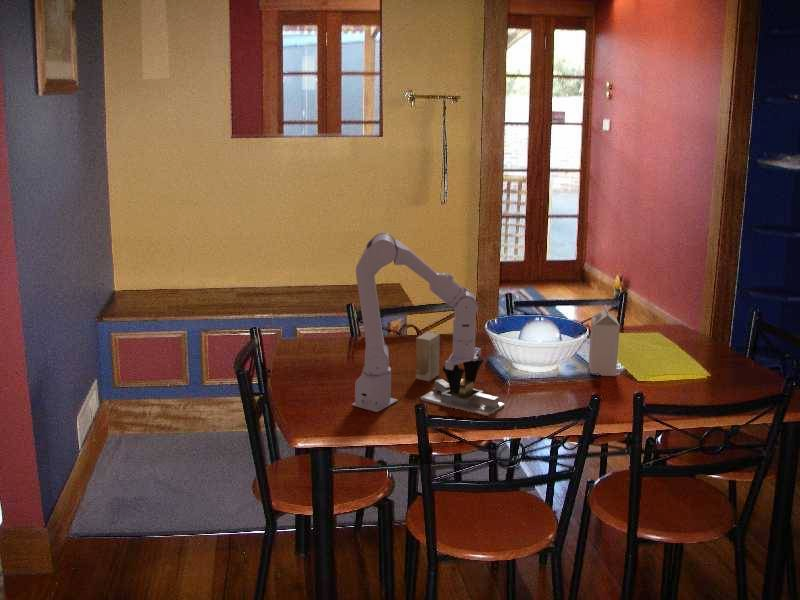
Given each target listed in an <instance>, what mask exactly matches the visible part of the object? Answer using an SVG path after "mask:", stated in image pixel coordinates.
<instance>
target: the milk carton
mask: <svg viewBox="0 0 800 600" xmlns="http://www.w3.org/2000/svg"><path fill="white" fill-rule="evenodd" d="M590 323H591V324H590V338H589V339H590V340H589V351H588V353H589V354H588V365H589V368H590V371H591V372H598V373H599V374H600V375H601V376H603V377H605V376H606V377H616V376H617V369H618V368H617V367H618V357H619V356H618V355H619V354H618V353H619V352H618V351H619V344H620V343H619V342H620V341H619V340H620V328H621V326H620V324H619V321H618V318H616V317H615V316H614V315H613V313H611V312H610V311H609V310H608V308H607V305H606V304H604V308H603V309H601V310H600V311H597V312H595V313H594V315H593V316H592V317H591V322H590ZM589 368H588V369H589ZM590 371H589V372H590ZM601 376H600V377H601Z"/></svg>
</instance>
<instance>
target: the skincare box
mask: <svg viewBox="0 0 800 600" xmlns="http://www.w3.org/2000/svg"><path fill="white" fill-rule="evenodd" d="M440 337H441V336H440V334H438V333H433V332H429V331H426V332H424V333H422V334H421V335H419V336H417V337H416V339H415V351H416V352H415V379H416V380H420V381H425V382H431V381H432V380H433V379H435V378H437V377H438V376H439V375H440Z"/></svg>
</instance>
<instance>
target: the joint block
mask: <svg viewBox="0 0 800 600" xmlns="http://www.w3.org/2000/svg"><path fill="white" fill-rule="evenodd" d="M473 389H474V385H473V381H469V380H465V378H462V379H461V384H460V391H459V393H458V394H455V393H452V395H454V396H458V397H462V398H466V399H467V398H469V397H471V396H472V395H473Z"/></svg>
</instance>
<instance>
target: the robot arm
mask: <svg viewBox="0 0 800 600" xmlns="http://www.w3.org/2000/svg"><path fill="white" fill-rule="evenodd" d="M391 263H393V266H394V265H395V266H406V267H407V268H408V269H410V270H411V271H413V272H414V273H415V274H416V275H418V276H420V278H421V279H423V280H425V281H426V282H427V283H428V284H429V291H430V292H432V293H433V294H434V295H435V296H437V297H438V298H439V299H440V300H441V301H442V302H444V303H445V304H447V305H448V306H451V307H453V309H454V317H453V318H454V319H453V323H452V325H453V326H452V353H451V354H450V355H449V358H448V359H447V360H445V362H444V365H442V371H443V372H444V374H445V377H446V379H447V382H448V383H449V387H450V391H451V393H455V394H458V393H459V391H460V384H461V379H463V375H464V379H465V380H469V381H473V386H474V385H475V382H476V378H477V376H478V372H479V370H480V368H481V366H482V364H483V363H484V358H483V357H480V356H481V355H482V348H480V347H476V331H477V330H476V329H477V327H476V326H477V325H476V324H477V322H476V317H477V315H476V314H477V313H478V311H479V306H478V303H477V300H476V297H475V295H474V294H473V293H472V292H471V291H472V290H470V289H468V288H467V287H466V286H462V285H461V284H459V283H458V281H455V280H454V275H453V274H451V273H448V274H446V272H437V271H435V270H434V268H432V267H431V266H429V264H428V263H426V262H425V261H424V260H423V259H422V258H421V257H420V256H418V255H417V254H416V253H415V252H414V251H413V250H412V249H411V248H410V247H408V246H407V245H405V244H404V243H403V242H402V241H400V240H399V239H397V238H396V239H395V238H394V236H393V235H391V234H389V233H387V232H380V233H377V234H376V235H374V236H373V237H372V238H371V239H370V240H369V241H367V243H366V245H365V248H364V249H363V252H362V254H361V256H360V258H359V260H358V262H357V264H356V267H355V275H356V284H357V290H358V297H359V304H360V310H361V317H362V325H363V331H364V337H365V339H364V340H365V349H364V355H365V357H364V361H363V362H364V366H362V373H361V375H360V376H359V377H358V378H357V379H356V381H355V382H354V383H355V384H354V402H353V403H352V404H351V406H354V407H357V408H360V409H365V410H367V411H371V412H375V413H377V412H380V411H382V410H384V409H385V408H387V407H390V406H391V405H393V404H395V403H397V402H398V399H396V398H393V397H392V395H391V393H392V391H391V390H392V368H391V367H390V357H389V354H390V349H389V346H388V345H387V344H386V342H385V339H384V334H383V327H382V320H381V311H380V305H379V304H380V303H379V298H378V291H377V284H376V278H375V276H376V275H377V274H378V272H379V271H380V270H381V269H383V268H384V267H387V266H388V265H390V264H391ZM461 364H462V365H463V368H464V369H463V368H460V366H459V365H461Z"/></svg>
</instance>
